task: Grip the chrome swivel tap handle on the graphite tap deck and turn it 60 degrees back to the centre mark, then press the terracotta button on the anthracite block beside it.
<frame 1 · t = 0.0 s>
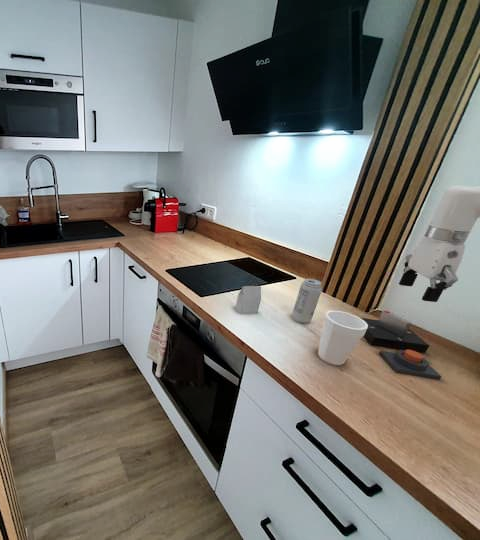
hand: (416, 292, 81), 19 cm above the worktop, tool pointing down, fingers open, 9 cm apart
grey tapered block: (246, 311, 106), on the worktop
button: (412, 356, 79), point 3 cm above the worktop, slide at 0.1 cm
tap: (393, 323, 90), point 6 cm above the worktop, hinge at -60.0°
button block: (407, 366, 80), on the worktop
foam cup: (330, 358, 83), on the worktop
tap deck: (386, 337, 92), on the worktop
energy drink can: (300, 320, 101), on the worktop
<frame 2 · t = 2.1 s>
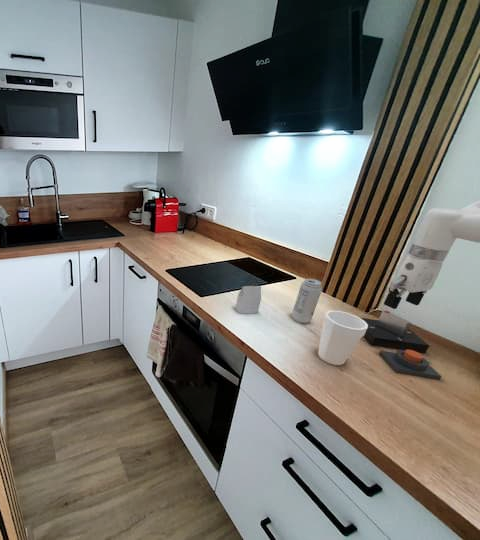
hand: (400, 304, 87), 12 cm above the worktop, tool pointing down, fingers open, 9 cm apart
nothing on the worktop moved.
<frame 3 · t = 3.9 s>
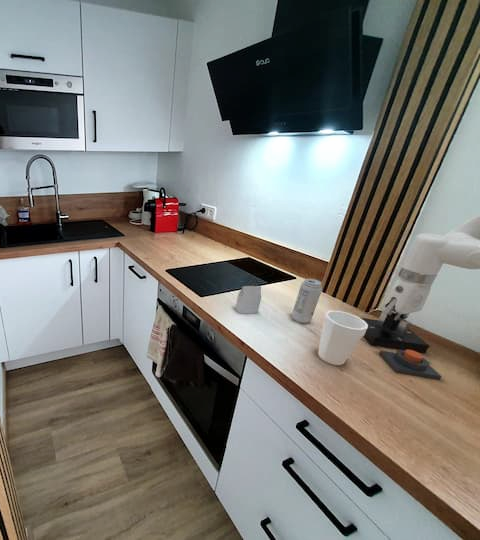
hand: (390, 327, 91), 4 cm above the worktop, tool pointing down, fingers closed on tap, 2 cm apart
tap: (393, 323, 90), point 6 cm above the worktop, hinge at -60.0°, touching gripper
everything else where it was.
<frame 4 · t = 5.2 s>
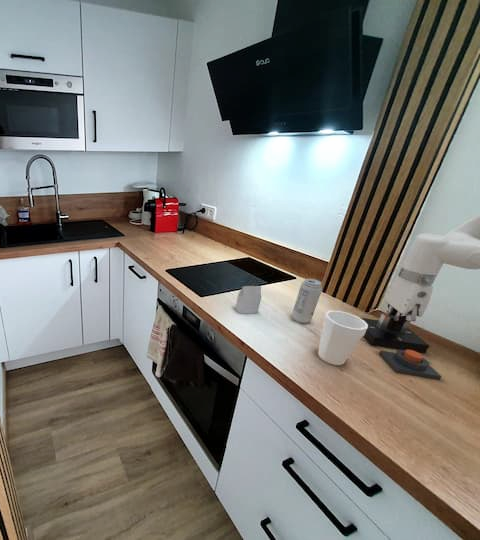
hand: (391, 328, 91), 4 cm above the worktop, tool pointing down, fingers closed on tap, 2 cm apart
tap: (393, 323, 90), point 6 cm above the worktop, hinge at 0.0°, touching gripper
everything else where it was.
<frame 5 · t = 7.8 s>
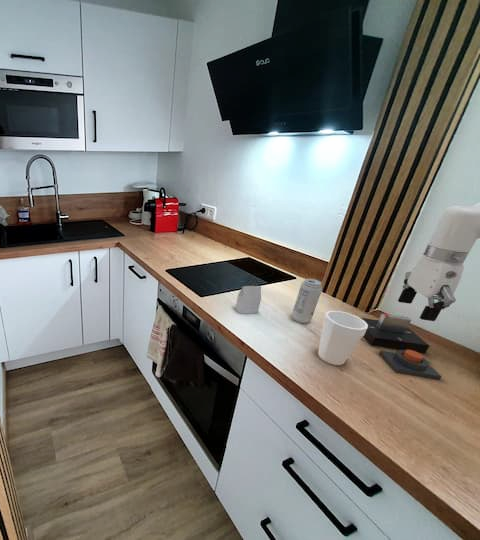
hand: (414, 310, 81), 14 cm above the worktop, tool pointing down, fingers open, 9 cm apart
tap: (393, 323, 90), point 6 cm above the worktop, hinge at -0.1°
everything else where it was.
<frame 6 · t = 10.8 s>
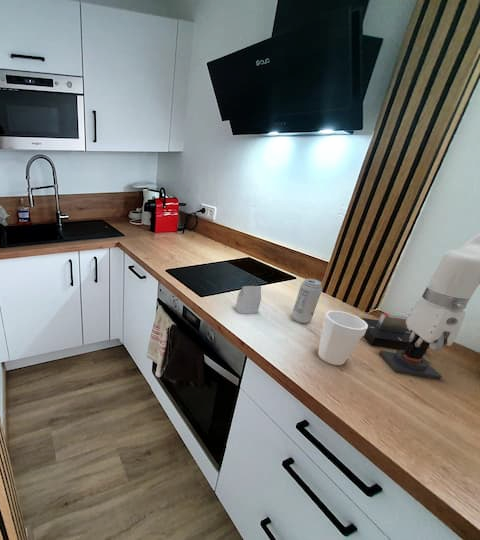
hand: (412, 356, 79), 3 cm above the worktop, tool pointing down, fingers closed
button: (411, 358, 79), point 3 cm above the worktop, slide at -0.9 cm, touching gripper
everything else where it was.
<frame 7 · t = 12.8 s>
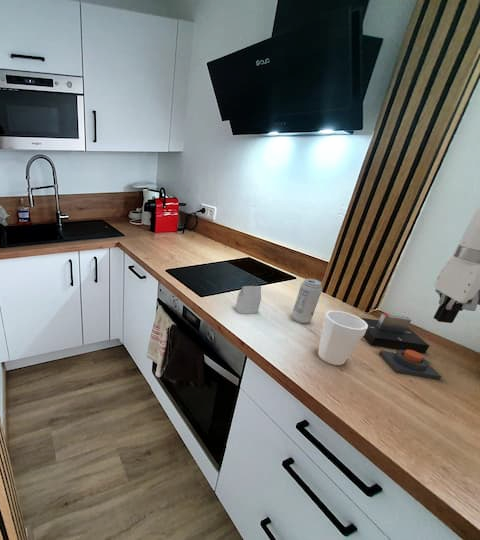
hand: (442, 320, 75), 15 cm above the worktop, tool pointing down, fingers closed
button: (412, 356, 79), point 3 cm above the worktop, slide at 0.1 cm
everything else where it was.
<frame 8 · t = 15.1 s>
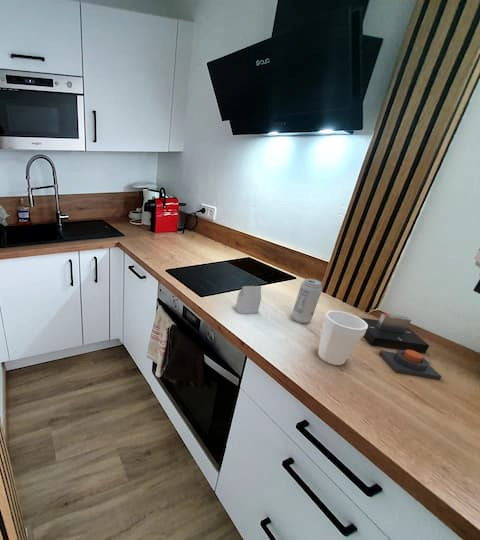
nothing on the worktop moved.
at the end: tap at +0° (first picture: -60°); button pushed in 1.1 cm at the most during the clip, back to where it started at the end; button slide at 0.1 cm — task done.
